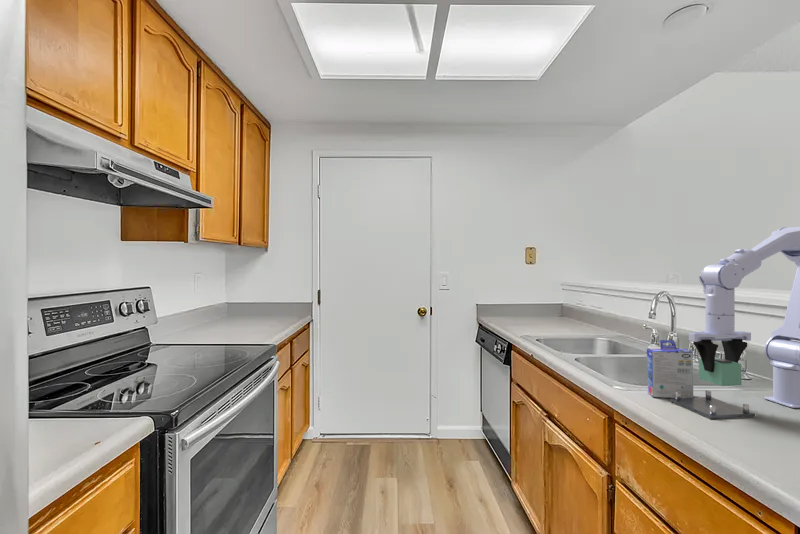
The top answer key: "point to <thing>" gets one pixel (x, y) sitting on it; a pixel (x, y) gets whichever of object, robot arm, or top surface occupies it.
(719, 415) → the chassis
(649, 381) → the ink cartridge box
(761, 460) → the top surface
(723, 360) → the block
